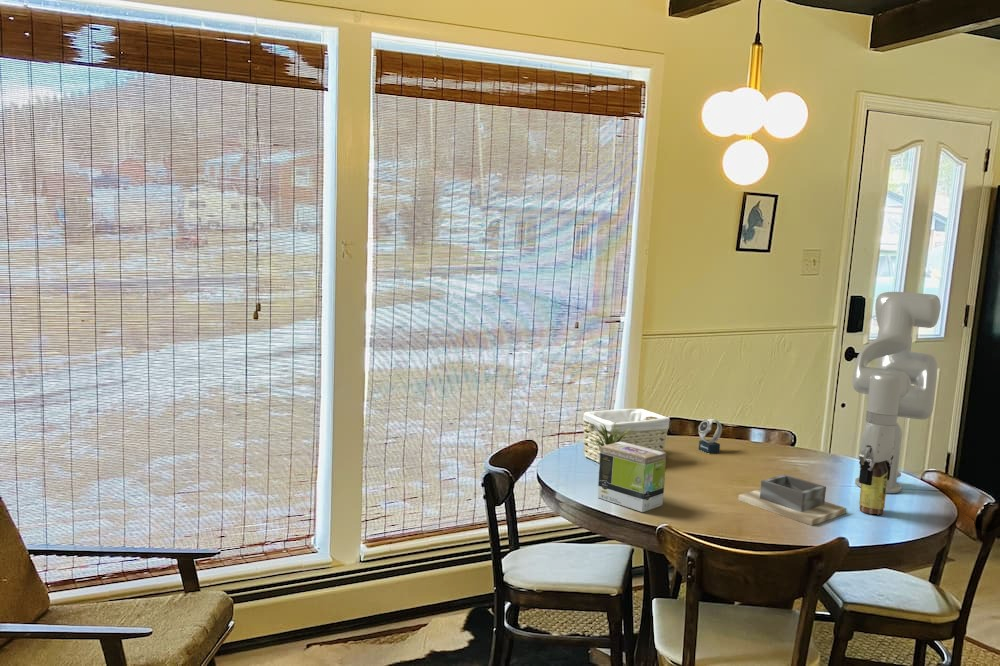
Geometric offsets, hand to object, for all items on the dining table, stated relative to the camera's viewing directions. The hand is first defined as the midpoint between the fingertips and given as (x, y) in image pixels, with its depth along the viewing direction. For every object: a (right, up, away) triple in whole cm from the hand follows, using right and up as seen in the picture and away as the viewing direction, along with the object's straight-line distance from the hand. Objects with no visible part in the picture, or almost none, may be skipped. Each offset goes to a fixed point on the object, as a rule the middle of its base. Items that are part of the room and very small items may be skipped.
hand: (874, 481), depth 216 cm
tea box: (-66, -6, 0) cm, 66 cm away
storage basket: (-61, -1, +41) cm, 73 cm away
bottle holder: (-21, -7, +2) cm, 23 cm away
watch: (-30, 0, +55) cm, 63 cm away
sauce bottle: (0, -9, +2) cm, 9 cm away
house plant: (-70, -3, +22) cm, 73 cm away
